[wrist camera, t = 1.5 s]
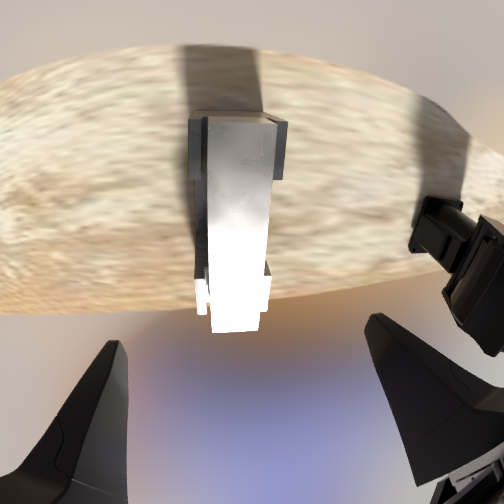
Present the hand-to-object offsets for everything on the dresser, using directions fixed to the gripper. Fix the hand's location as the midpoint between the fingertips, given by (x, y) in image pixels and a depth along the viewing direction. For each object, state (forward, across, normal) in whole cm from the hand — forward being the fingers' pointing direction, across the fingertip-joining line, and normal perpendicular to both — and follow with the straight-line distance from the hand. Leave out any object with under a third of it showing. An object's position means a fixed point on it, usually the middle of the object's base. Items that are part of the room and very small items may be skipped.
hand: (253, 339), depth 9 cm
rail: (+8, 0, 0) cm, 8 cm away
